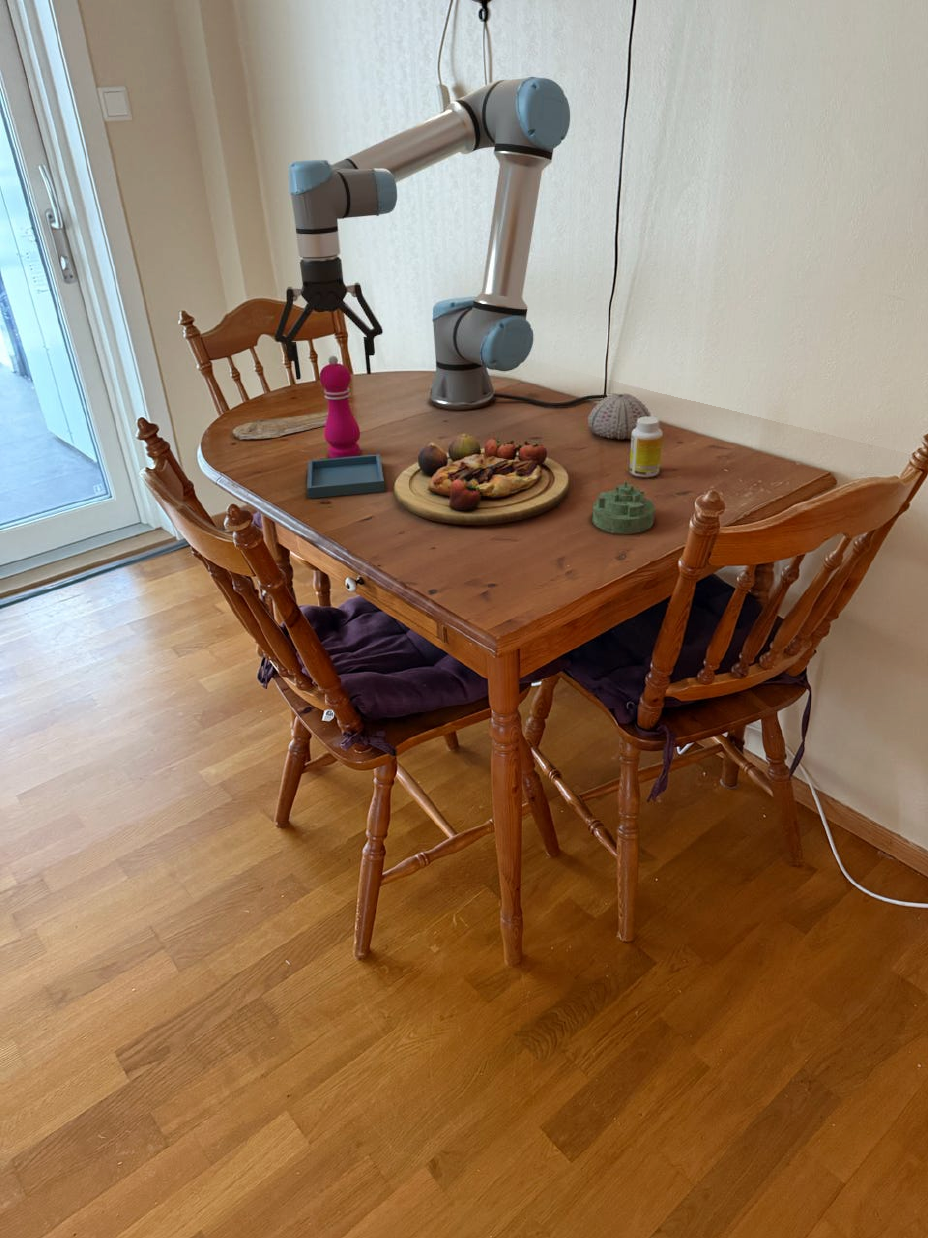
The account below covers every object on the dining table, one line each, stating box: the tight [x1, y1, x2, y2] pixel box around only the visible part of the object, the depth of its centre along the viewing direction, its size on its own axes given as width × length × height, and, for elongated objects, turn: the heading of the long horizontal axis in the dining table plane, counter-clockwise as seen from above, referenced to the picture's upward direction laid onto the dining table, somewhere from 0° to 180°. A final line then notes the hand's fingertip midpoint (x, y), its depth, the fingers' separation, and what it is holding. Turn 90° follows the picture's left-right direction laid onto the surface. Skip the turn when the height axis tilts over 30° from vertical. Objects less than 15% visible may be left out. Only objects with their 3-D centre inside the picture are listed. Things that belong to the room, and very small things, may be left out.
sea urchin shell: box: [587, 393, 652, 440], centre depth 173 cm, size 13×14×8 cm
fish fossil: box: [232, 411, 328, 440], centre depth 187 cm, size 26×10×1 cm, turn 123°
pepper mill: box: [319, 355, 361, 459], centre depth 166 cm, size 7×7×20 cm
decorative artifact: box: [592, 480, 656, 535], centre depth 137 cm, size 10×7×10 cm
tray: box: [306, 453, 386, 500], centre depth 159 cm, size 14×14×2 cm
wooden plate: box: [393, 433, 571, 526], centre depth 150 cm, size 32×32×8 cm
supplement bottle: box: [629, 416, 664, 478], centre depth 154 cm, size 6×6×10 cm
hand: (333, 375), depth 162 cm, fingers open, 13 cm apart
